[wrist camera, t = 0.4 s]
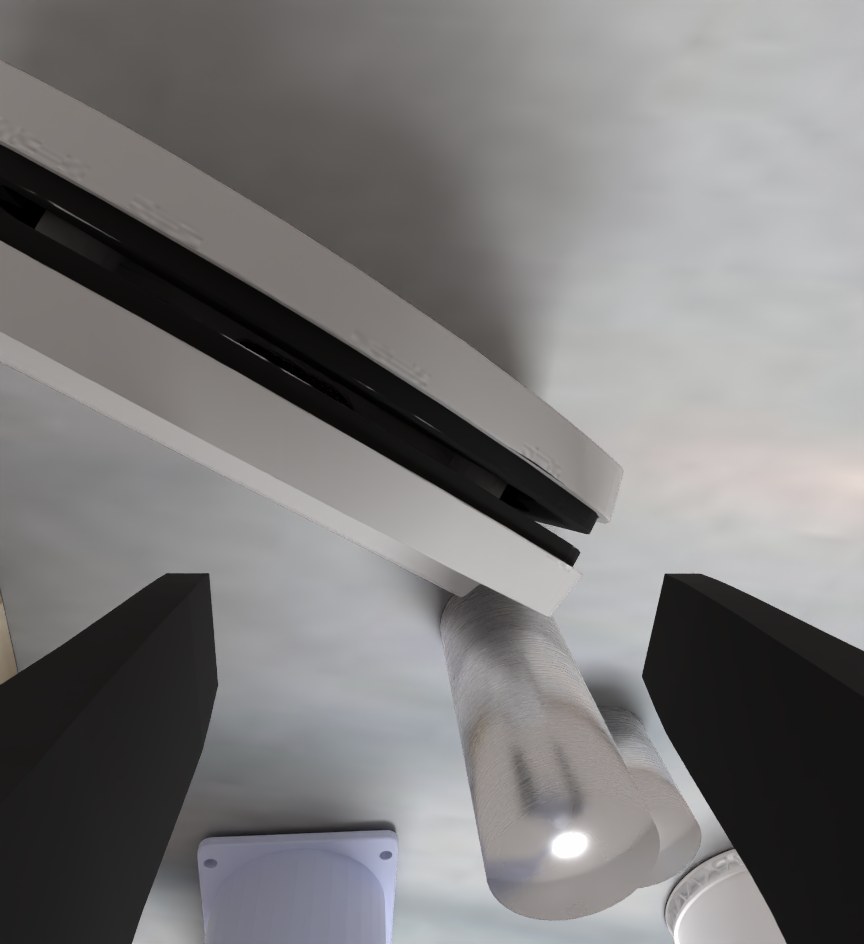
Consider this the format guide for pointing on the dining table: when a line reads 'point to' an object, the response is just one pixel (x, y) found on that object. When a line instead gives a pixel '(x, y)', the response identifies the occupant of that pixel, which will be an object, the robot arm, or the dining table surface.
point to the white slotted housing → (288, 336)
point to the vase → (720, 906)
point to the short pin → (655, 795)
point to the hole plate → (6, 649)
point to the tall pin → (541, 765)
